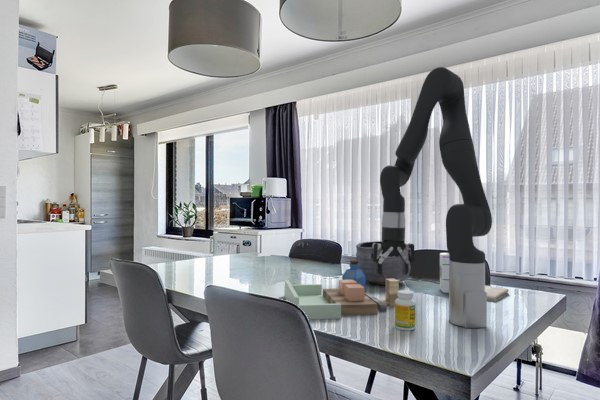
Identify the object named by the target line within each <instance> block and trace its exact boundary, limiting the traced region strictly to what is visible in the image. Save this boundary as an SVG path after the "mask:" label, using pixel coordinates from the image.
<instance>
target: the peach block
mask: <svg viewBox="0 0 600 400" xmlns="http://www.w3.org/2000/svg"><path fill="white" fill-rule="evenodd" d="M345 298H346V299H347V300H348V301H365V287H363V286H362V285H360V284H350V285H345Z"/></svg>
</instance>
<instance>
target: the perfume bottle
mask: <svg viewBox="0 0 600 400" xmlns="http://www.w3.org/2000/svg"><path fill="white" fill-rule="evenodd" d="M349 262H350V263H349V268H348V269H346V270H345V271H344V273H343V275H342V277H341V278H342V279H341V280H354V281H356V282H357V284H360V285H362V286H363V287H365V293H367V292H366V289H367V288H366V287H367V286H366V282H367V280H366V276H365V274H364V273H363V271H362V270H361V269H358V267H359V264H358V260H356V259H350V260H349Z"/></svg>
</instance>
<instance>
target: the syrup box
mask: <svg viewBox="0 0 600 400" xmlns="http://www.w3.org/2000/svg"><path fill="white" fill-rule="evenodd" d="M439 290H440V291H441V293H444V294H449V253H448V252H440V253H439Z"/></svg>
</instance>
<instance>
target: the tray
mask: <svg viewBox="0 0 600 400" xmlns="http://www.w3.org/2000/svg"><path fill="white" fill-rule="evenodd" d="M283 295H284V299H285V300H288V301H290V302H292V303H294V304H296V305H297V306H299V307H300V308H301V309H302V310H303V311H304V312H305V314H306V315H307V317H308V319H309V320H331V319H332V320H333V319H335V320H337V319H341V318H342V315H341V304H340V303H338V304H330V303H329V302H328V301H327V300H326V299H325V298H324V296H323V285H322V284H321V283H320V284H319V283H314V284H313V283H312V284H309V283H305V284H302V283H301V284H292V283H291V281H290V280H289V279H285V280H284V294H283Z"/></svg>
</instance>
